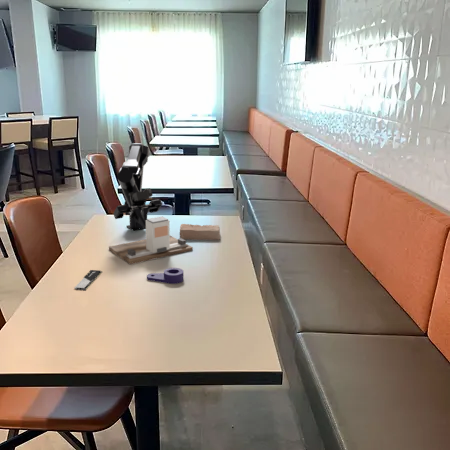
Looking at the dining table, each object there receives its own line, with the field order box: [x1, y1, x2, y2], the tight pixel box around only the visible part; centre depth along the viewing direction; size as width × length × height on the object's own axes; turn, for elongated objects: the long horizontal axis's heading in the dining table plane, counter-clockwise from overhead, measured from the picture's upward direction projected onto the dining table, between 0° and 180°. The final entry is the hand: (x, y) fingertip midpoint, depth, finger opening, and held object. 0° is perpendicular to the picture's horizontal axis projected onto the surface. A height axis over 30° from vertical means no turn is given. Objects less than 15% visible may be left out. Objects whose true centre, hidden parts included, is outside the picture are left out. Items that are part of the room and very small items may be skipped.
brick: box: [179, 223, 221, 241], centre depth 195 cm, size 16×8×5 cm, turn 93°
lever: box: [146, 267, 184, 285], centre depth 153 cm, size 12×6×3 cm, turn 84°
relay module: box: [145, 216, 171, 253], centre depth 172 cm, size 6×7×12 cm
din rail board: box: [108, 235, 194, 265], centre depth 178 cm, size 18×26×4 cm
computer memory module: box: [73, 269, 103, 291], centre depth 151 cm, size 15×1×4 cm
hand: (146, 227), depth 180 cm, fingers closed
